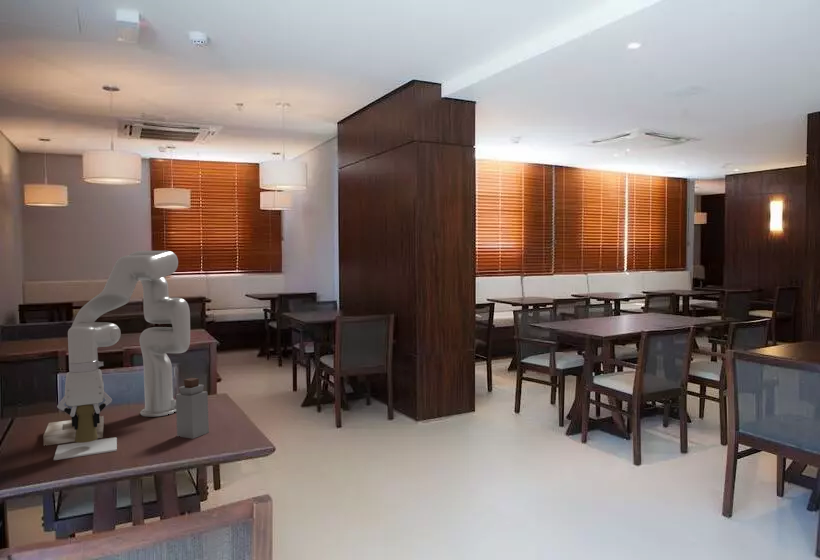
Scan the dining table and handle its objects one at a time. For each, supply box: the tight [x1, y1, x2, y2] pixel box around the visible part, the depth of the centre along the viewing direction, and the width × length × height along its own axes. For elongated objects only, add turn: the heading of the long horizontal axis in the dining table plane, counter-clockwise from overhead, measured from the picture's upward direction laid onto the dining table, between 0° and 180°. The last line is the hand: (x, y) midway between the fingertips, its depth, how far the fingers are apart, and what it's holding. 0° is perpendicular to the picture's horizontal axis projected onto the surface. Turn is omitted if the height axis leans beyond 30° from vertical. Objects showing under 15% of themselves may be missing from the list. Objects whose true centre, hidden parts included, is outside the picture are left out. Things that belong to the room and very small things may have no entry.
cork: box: [74, 404, 99, 443], centre depth 172 cm, size 6×6×11 cm
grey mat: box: [53, 437, 118, 461], centre depth 172 cm, size 16×13×1 cm
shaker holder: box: [42, 415, 105, 447], centre depth 187 cm, size 16×16×3 cm
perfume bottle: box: [175, 377, 210, 440], centre depth 185 cm, size 7×7×18 cm
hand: (86, 426), depth 172 cm, fingers closed on cork, 4 cm apart
